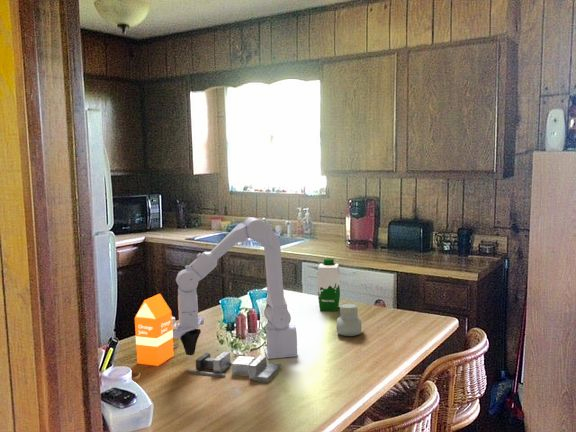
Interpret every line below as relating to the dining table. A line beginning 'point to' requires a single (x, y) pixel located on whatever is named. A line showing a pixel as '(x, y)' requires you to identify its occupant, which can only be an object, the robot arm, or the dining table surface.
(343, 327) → the air freshener
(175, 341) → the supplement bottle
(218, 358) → the free jaw
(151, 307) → the orange juice
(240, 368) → the steel block
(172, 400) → the dining table surface
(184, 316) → the robot arm
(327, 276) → the milk carton
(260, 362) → the vise base
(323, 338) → the dining table surface
